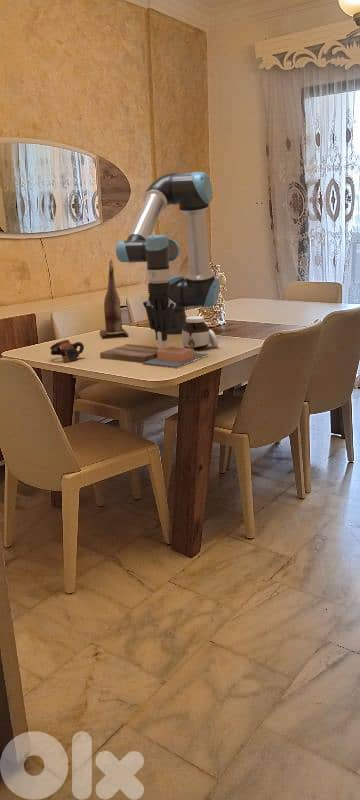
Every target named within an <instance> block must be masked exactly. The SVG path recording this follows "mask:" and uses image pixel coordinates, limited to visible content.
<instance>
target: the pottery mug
mask: <svg viewBox="0 0 360 800" xmlns="http://www.w3.org/2000/svg"><path fill="white" fill-rule="evenodd" d="M78 347H79V350H77V349H78ZM49 349H50V350H51V351H50V355H51V356H61V358H62V361H63V363H64V364H67V363H69V362H71V361H78V358H79V357H80V354H82V353H83V351H84V349H85V345H84V344H83V343H82V342H81V341H77V342H74V343H71V342H70V340H69V339H64V340H61V341H59V342H56V343H54V344H52V345H51V346H50V348H49Z"/></svg>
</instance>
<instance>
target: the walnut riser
mask: <svg viewBox="0 0 360 800" xmlns="http://www.w3.org/2000/svg"><path fill="white" fill-rule="evenodd" d="M157 351H159V350H158V346H153V345H152V346H150V345H140V344H131V343H129V344H128V343H126V344H123V345H120V346H117V347H113V348H111V349H107V350H103V351H101V352H100V353H99V357H100V359H106V360H116V361H122V362H123V361H125V362H134V363H140V364H141V363H142V364H143V362H146V361H149V360H152V359H154V358H157Z"/></svg>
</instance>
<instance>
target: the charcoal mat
mask: <svg viewBox="0 0 360 800" xmlns="http://www.w3.org/2000/svg"><path fill="white" fill-rule="evenodd" d="M206 355H208V356H209V354H208V353H199V352H194V358H191V359H189V360H186V361H183V362H175V361H165V360H157V358H154V359H152V360H149V361H146V362H143V363H142V365H144V366H152V365H157V366H156V367H161V366H168V367H167V368H170V367H179V366H181V365H184V364H186V363H188V362H191V361H193V360H195V359H198V358H201V357H203V356H206ZM206 357H207V356H206ZM201 359H202V358H201ZM191 363H192V362H191ZM186 365H187V364H186ZM184 366H185V365H184ZM181 367H182V366H181ZM179 368H180V367H179Z"/></svg>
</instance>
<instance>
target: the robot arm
mask: <svg viewBox="0 0 360 800" xmlns="http://www.w3.org/2000/svg"><path fill="white" fill-rule="evenodd" d="M213 195H214V193H213V186H212V182H211V179H210V177H209V175H208V174H207V173H206V172H205V171H188V172H187V171H186V172H177V173H173V172H171V173H166V174H164V175H162V176H160V177H158V178H157V179H155V180H154V181H153V182H152V183H151V184H150V185H149V186H148V188H147V189H146V190H145V193H144V195H143V204H142V206H141V208H140V210H139V211H138V214H137V217H136V218H135V221H134V224H133V226H132V227H131V230H130V233H128V236H127V238H126V240H121V241H118V242H117V243H116V247H115V255H116V258H117V260H118V261H119V262H120V263H146V272H147V273H146V274H147V281H148V283H147V290H148V291H147V292H148V299H147V300H146V301H144V302H143V303H142V304H143V306H144V309H145V311H146V315H147V321H148V324H149V327H150V328H149V329H150V330H154V332H155V340H156V341H157V347H158V350H162V349H165V348H167V343H166V341H168V335H176V334H182V328H183V326H184V325H185V324H186V323H187V322H186V318H187V317H188V316H187V314H186V308H190V307H191V308H192V307H193V308H207V307H209V308H211V307H212V308H213V307H215V306H216V305H217V302H218V300H219V297H220V296H219V295H220V289H221V288H220V286H221V283H220V279H219V278H217V277H215V273H214V272H213V271H212V270H211V264H210V254H209V253H210V251H209V240H208V228H207V216H206V211H207V210H208V208H209V207H210V205H209V204H210V203H212V201H213ZM170 205H171V206H172V205H178V208H179V211H180V212H181V213H182V214H183V218H184V230H185V239H186V240H185V241H186V249H187V259H188V269H189V271H188V273H187V275H186V278H185V277H184V275H182V274H181V275H174V276H170V262H173V261H174V260H176V259H178V257H179V256H180V252H181V246H180V244H179V243H178V242H177V240H174V239H172V238H168V236H167V235H166V234H153V232H154V231H155V228H156V226H157V223H158V221H159V218H160V217H161V214H162V212H163V211H164V210H166V208H167V206H170Z"/></svg>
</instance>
